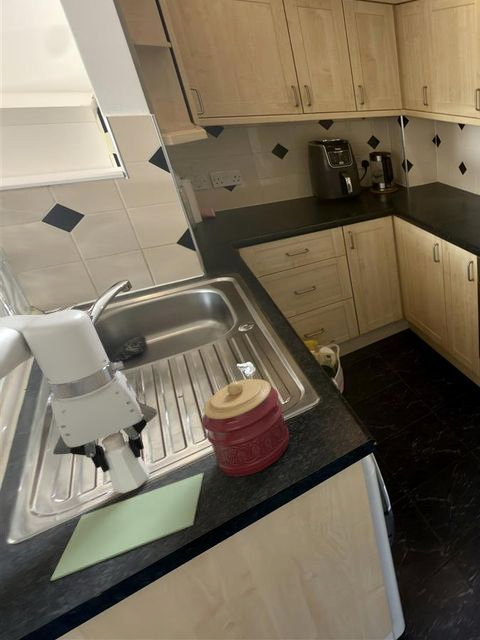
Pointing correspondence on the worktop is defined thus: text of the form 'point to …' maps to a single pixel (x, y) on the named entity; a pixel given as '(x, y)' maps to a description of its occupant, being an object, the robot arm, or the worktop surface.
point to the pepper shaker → (123, 464)
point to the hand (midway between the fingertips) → (122, 459)
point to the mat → (130, 524)
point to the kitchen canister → (245, 427)
